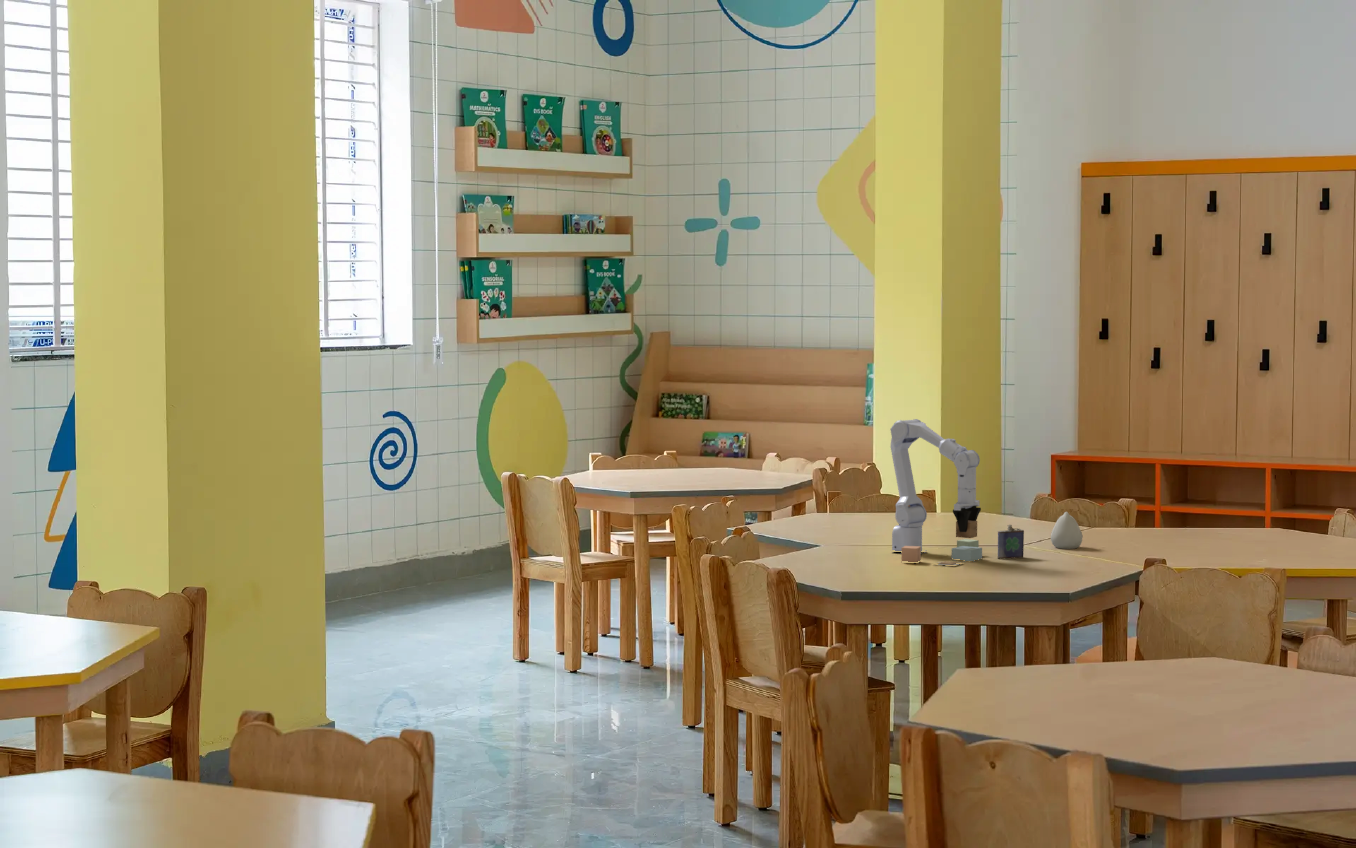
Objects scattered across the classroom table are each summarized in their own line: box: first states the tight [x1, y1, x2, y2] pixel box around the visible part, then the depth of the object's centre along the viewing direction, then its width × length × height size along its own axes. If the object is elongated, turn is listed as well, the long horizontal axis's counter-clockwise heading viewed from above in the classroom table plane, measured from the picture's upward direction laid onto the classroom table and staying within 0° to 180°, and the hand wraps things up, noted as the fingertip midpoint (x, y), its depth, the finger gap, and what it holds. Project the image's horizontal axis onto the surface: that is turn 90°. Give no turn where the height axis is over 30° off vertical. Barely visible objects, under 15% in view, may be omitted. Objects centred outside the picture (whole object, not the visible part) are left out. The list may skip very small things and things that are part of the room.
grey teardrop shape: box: [1050, 511, 1084, 550], centre depth 488 cm, size 10×10×12 cm
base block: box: [951, 546, 983, 562], centre depth 464 cm, size 7×7×4 cm
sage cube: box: [956, 538, 980, 548], centre depth 473 cm, size 5×5×5 cm
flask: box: [997, 524, 1025, 560], centre depth 466 cm, size 9×3×11 cm, turn 109°
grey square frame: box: [938, 560, 960, 566], centre depth 453 cm, size 7×7×1 cm
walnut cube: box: [955, 520, 978, 539], centre depth 463 cm, size 5×5×5 cm
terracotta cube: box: [901, 546, 922, 562], centre depth 459 cm, size 5×5×5 cm
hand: (966, 530), depth 463 cm, fingers closed on walnut cube, 5 cm apart
